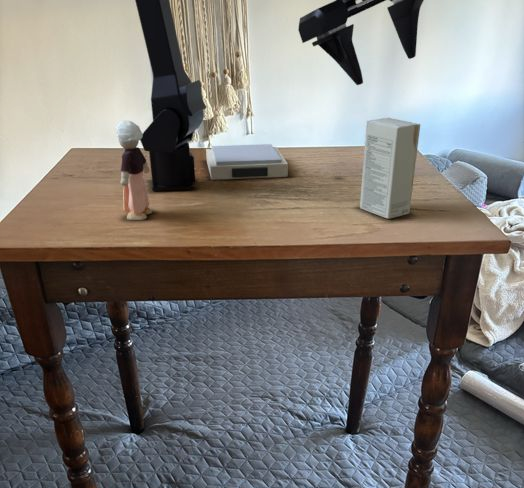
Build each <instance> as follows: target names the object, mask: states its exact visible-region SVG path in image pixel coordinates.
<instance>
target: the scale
mask: <svg viewBox="0 0 524 488" xmlns="http://www.w3.org/2000/svg"><path fill="white" fill-rule="evenodd" d="M205 155H206V156H205V157H206V164H207V168H208V172H209V175H210V179H211V181H215V180H241V179H244V180H245V179H263V178H265V179H267V178H268V179H269V178H286V177H287V178H288V175H289V174H288V173H289V163H288V162H287V160H286V159H285V158H284V156H283V155H282V153H281V152H280V150H279V149H278V147H277V146H273V144H271V143H264V144H262V143H261V144H260V143H259V144H233V145H212V146H211V148H206V149H205Z"/></svg>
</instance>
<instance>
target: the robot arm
mask: <svg viewBox="0 0 524 488" xmlns="http://www.w3.org/2000/svg"><path fill="white" fill-rule="evenodd" d="M134 1H135V5H136V9H137V13H138V19H139V22H140V26H141V32H142V34H143V39H144V43H145V47H146V51H147V55H148V59H149V64H150V68H151V73H152V83H151V84H152V85H151V96H150V104H151V114H152V115H151V117H152V121H151V123H150V124H149V125H148V126H147V128H146V129H145V130H144V131H142V134H143V137H142V139H141V140H139V141H140V143H141V145H142V148H143V150H144V152H149V165H150V174H151V175H150V176H151V191H153V192H158V191H159V192H160V191H162V192H163V191H180V190H181V191H182V190H183V191H185V190H193V189H194V184H195V182H196V169H195V155H194V153H193V152H191V149H190V143H189V142H191V141H192V140H193V137H194V133H195V131H196V130H198V129H199V128H200V127H201V125H202V123H203V121H204V110H206V109H207V105H206V103H205V102H204V99H203V94H202V93H203V92H202V83H201V80H200V79H198V80H194V81H192V80H191V78H190V77H189V75H188V73H187V72H186V70H185V68H184V62H183V59H182V54H181V53H182V52H181V50H180V45H179V40H178V35H177V30H176V26H175V25H176V24H175V21H174V17H173V12H172V8H171V2H170V0H134ZM389 1H390V2H391V3H393V4H391V5H390V6H387V7H386V8H387V11H388V14H389V17H390V19H391V21H392V25H393V26H394V29H395V31H396V34H397V36H398V39H399V42H400V44H401V47H402V49H403V51H404V54H405V55H406V57H407V58H408V60H411V59H414V58H416V55H417V42H418V27H419V16H420V11H421V7H422V5H423V4H424V0H389ZM384 2H387V0H361V1H360V2H358V3H357V0H334V1H331V2H329V3H327V4H325V5H322V6H320V7H318V8H316V9H314V10H312V11H310V12H308V13H307V14H304V15H303V16H301V17H300V18H299V22H298V34H299V36H300V39H301V42H302V44H304V43H307V42H309V41H311V40H313V39H315V38H316V40H315V41H313V42H311V45H312V47H316V46H318V47H320V48H321V50H323V51H324V52H325V53H326V54H327V55H329V57H330V58H332V60H334V61H335V62H336V64H338V65H339V67H340V68H341V69H342V70H343V71H344V73H346V75H347V76H348V77H349V79H351V80H352V82H354V84H355V85H356V86H359V85H362V84H363V83H364V78H363V73H362V68H361V66H360V62H359V59H358V56H357V53H356V49H355V45H354V42H353V35H354V28H355V24H354V23H352V24H350V25H348V26H347V22H348V19H349V18H351V17H353V16H355V15H358V14H360V13H362V12H364V11H366V10H369V9H372V8H373V7H376V6H378V5H380V4H381V3H384Z"/></svg>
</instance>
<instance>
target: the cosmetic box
mask: <svg viewBox="0 0 524 488" xmlns="http://www.w3.org/2000/svg"><path fill="white" fill-rule="evenodd" d="M365 124H366V125H365V138H364V139H365V140H364V149H363V152H364V153H363V163H362V175H361V177H362V178H361V189H360V203H359V209H362V210H364V211H366V212H369V213H371V214H374V215H377V216H379V217H382V218H385V219H393V218H398V217H402V216H405V215H409V214H410V211H411V205H412V197H413V187H414V180H415V179H414V178H415V172H416V162H417V156H418V147H419V139H420V131H421V123H418V122H412V121H407V120H403V119H398V118H393V117H384V118H376V119H369V120H366V123H365Z"/></svg>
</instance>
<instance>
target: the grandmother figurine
mask: <svg viewBox="0 0 524 488" xmlns="http://www.w3.org/2000/svg"><path fill="white" fill-rule="evenodd" d="M115 134H116V135H117V137H118V143H119V145H120V146H121V148H123V149H124V152H123V153H122V155H121V167H120V177H121V179H120V185H121V186H123V191H122V192H123V193H122V199H123V200H122V204H123V211H124V212H128V213H127V215H126V220H130V221H143V220H146V219H147V218H148V216H147V215H150V214H152V213H153V211H152V209H151V208H150V200H149V194H148V188H147V185H146V183H145V180H144V179H145V178H144V174H148V173H150V172H151V168H150V167H149V165H148V162H147V159H146V157H145V155H144V154H143V152H142V150H141V149H140V147H138V145H139V141H140V140H141V139H142V137H143V131H142V130H141V128H140V126H139V125H138V124H136V123H135V122H134V121H132V120H129V119H127V120H122V121H120V122H119V123H118V124H117V125H116V127H115Z"/></svg>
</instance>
